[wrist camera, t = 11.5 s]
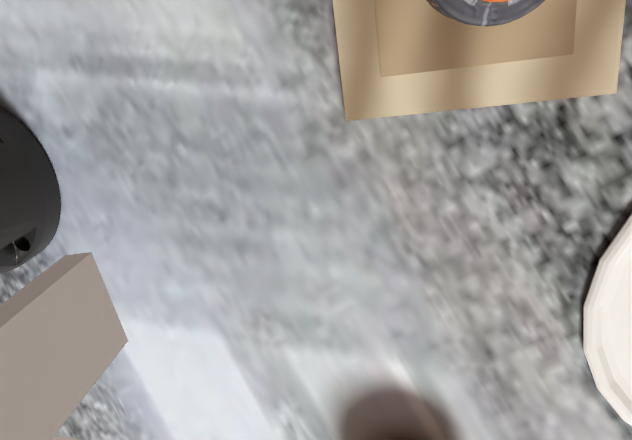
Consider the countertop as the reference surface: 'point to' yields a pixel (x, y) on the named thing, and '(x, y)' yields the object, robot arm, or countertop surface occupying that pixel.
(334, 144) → the countertop surface
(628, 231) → the plate
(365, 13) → the maple board
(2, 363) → the robot arm
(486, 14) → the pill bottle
